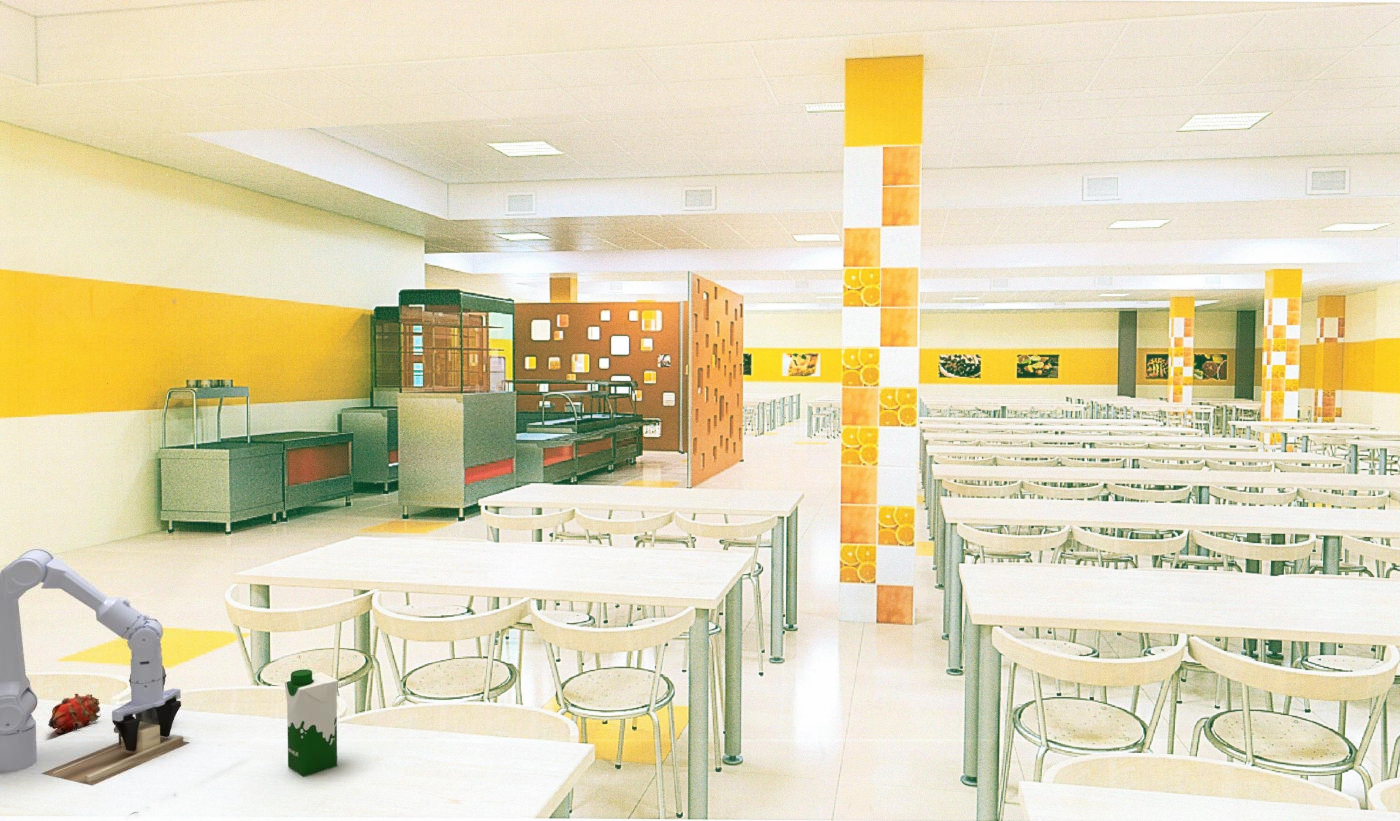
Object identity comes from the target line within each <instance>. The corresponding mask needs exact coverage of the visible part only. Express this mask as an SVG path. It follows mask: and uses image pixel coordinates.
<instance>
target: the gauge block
mask: <svg viewBox="0 0 1400 821" xmlns="http://www.w3.org/2000/svg"><path fill="white" fill-rule="evenodd" d="M114 726H115V725H114ZM113 732H114V733H115V734H118V742H119V745H121V744H122V752H126V753H130V754H138V753H140V752H143V751H145V750H147V749H150V748H152V747H154V746H157V745H159V744H160V737H161V736H160V725H156V724H150V723H145V722H140V723H139V727H138V732H137V747H136V750H135V751H128V750H126V747H125V744H124V741H123V738H122V736H121V734H120V732H119V730H118V729H117V727H116V726H115V727H114V728H113Z"/></svg>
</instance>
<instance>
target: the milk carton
mask: <svg viewBox="0 0 1400 821" xmlns="http://www.w3.org/2000/svg"><path fill="white" fill-rule="evenodd" d="M284 686H285V696H286V697H285V698H286V704H287V705H286V713H287V714H286V718H287V767H288V768H289V769H291V770H293V771H294V772H295V773H297V774H299V775H300V776H301V777H303V778H304V777H307V776H310V775H311V776H312V775H314V774H317V773H321V772H323V771H327V770H330V769H333V768H336V767H338V714H337V711H338V708H337V706H338V705H337V704H338V701H337V700H338V699H337V698H338V687H339V679H337V678H334V677H332V676H330V675H328V674H326V673H325V672H322V671H320V672H317V673H313V671H312V670H310V669H299V670H298V669H297V670H294V671H292V672H291V673H290V679H286V680H284Z"/></svg>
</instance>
